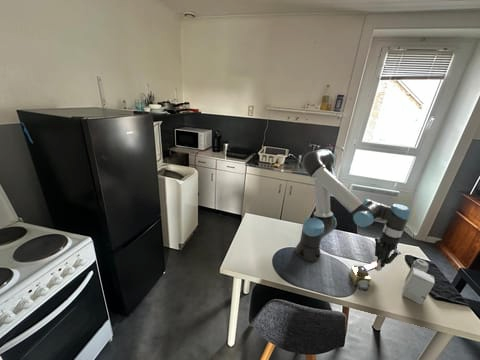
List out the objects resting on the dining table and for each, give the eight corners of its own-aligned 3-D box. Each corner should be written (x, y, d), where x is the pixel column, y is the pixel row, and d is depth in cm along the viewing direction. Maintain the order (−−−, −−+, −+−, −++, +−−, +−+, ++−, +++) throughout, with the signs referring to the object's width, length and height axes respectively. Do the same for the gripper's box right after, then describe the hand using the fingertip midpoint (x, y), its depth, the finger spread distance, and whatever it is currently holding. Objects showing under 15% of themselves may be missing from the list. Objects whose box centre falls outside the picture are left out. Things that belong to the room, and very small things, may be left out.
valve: (370, 292, 105) (374, 283, 103) (356, 289, 106) (359, 280, 104) (360, 272, 117) (363, 264, 115) (348, 270, 118) (350, 262, 115)
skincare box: (401, 295, 104) (412, 273, 99) (402, 287, 108) (412, 266, 103) (422, 305, 99) (435, 283, 94) (422, 297, 103) (434, 275, 98)
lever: (362, 276, 106) (363, 273, 106) (355, 269, 110) (356, 267, 109) (382, 268, 112) (383, 265, 111) (374, 262, 116) (375, 259, 115)
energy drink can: (414, 289, 108) (425, 268, 102) (402, 280, 113) (412, 259, 107) (421, 286, 110) (432, 264, 104) (409, 277, 115) (419, 256, 110)
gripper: (410, 240, 98) (394, 277, 106) (385, 225, 109) (373, 260, 118) (398, 242, 96) (383, 280, 104) (374, 227, 107) (363, 262, 116)
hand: (378, 269), depth 111 cm, fingers closed
